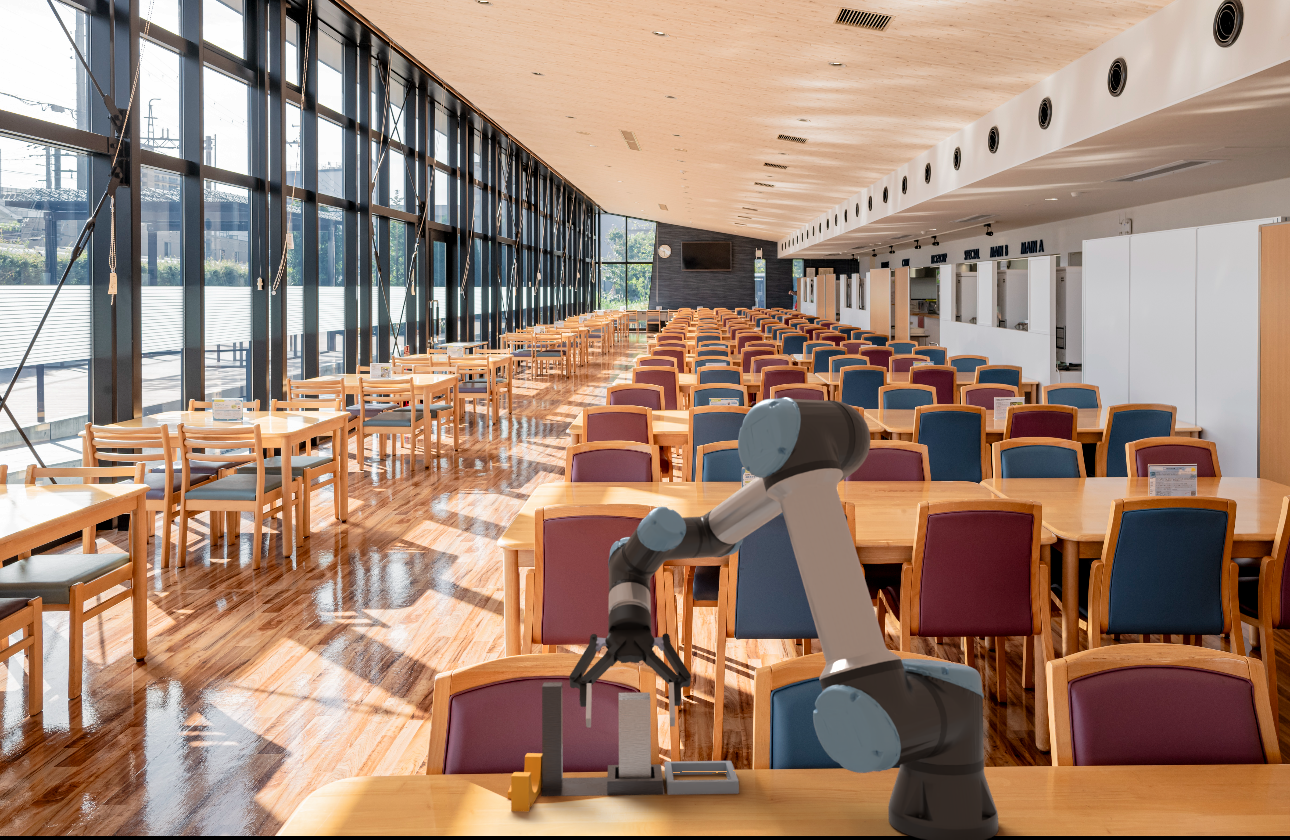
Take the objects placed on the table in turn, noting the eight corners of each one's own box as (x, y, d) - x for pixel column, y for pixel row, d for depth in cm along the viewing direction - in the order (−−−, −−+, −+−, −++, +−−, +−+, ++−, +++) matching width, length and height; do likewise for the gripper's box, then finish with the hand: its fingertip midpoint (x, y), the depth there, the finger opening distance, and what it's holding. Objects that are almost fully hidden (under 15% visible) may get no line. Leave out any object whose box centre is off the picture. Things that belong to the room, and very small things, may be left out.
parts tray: (731, 779, 167) (731, 760, 167) (738, 801, 156) (738, 781, 156) (664, 780, 167) (664, 761, 167) (667, 802, 156) (667, 782, 156)
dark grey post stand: (662, 783, 165) (661, 677, 166) (664, 802, 156) (663, 689, 157) (545, 785, 164) (545, 678, 165) (540, 804, 155) (540, 690, 156)
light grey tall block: (650, 780, 163) (649, 692, 163) (651, 790, 158) (650, 699, 158) (619, 780, 163) (618, 692, 163) (619, 790, 158) (618, 699, 158)
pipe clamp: (516, 794, 161) (516, 752, 161) (543, 794, 160) (543, 753, 161) (499, 820, 149) (499, 775, 149) (528, 821, 148) (528, 776, 149)
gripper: (699, 627, 182) (706, 733, 166) (560, 628, 181) (554, 735, 166) (701, 601, 177) (708, 708, 161) (558, 602, 176) (551, 710, 161)
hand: (630, 722), depth 163 cm, fingers open, 13 cm apart
